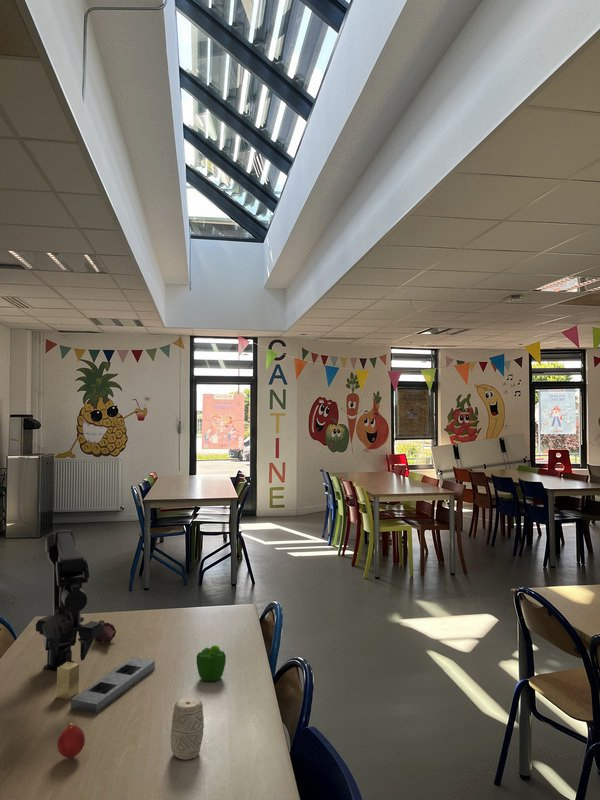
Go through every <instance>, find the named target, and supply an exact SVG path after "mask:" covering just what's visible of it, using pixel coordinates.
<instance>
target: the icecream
mask: <svg viewBox="0 0 600 800" xmlns="http://www.w3.org/2000/svg"><path fill="white" fill-rule="evenodd" d="M98 622H101V623H102V624H103V626H104V632H103V633H101V634H100V635H98V636H97V637H95V639H94V640H95V642H96V643H98V644H101V645H104V644H103V643H105V644H108V643H107V642H109V643H111V642H112V641H113V639H114V638H115V637H116V634H117V630H116V628H115V626H114V625H113V624H112V623H110V622H105V620H103V619H101V620H99V621H98Z"/></svg>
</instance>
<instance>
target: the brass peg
mask: <svg viewBox="0 0 600 800" xmlns="http://www.w3.org/2000/svg"><path fill="white" fill-rule="evenodd" d="M79 679H80V663H76V662H74V663H72V662H66V663H64V664H63V665H61V666H59V667H58V668H57V671H56V698H61V699H66V700H71V699H72V698H73V697H75V696H76V695H78V694H79V690H80V689H79V688H80V687H79V685H80V683H79V682H80V680H79Z"/></svg>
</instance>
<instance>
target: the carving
mask: <svg viewBox="0 0 600 800" xmlns="http://www.w3.org/2000/svg"><path fill="white" fill-rule="evenodd" d="M171 717H172V718H171V729H170V748H171V752H172V754H173V755H174V757H176V758H178V759H180V760H185V761H186V760H193V759H195V758H197V757H198V756H199V754H200V752H201V745H202V742H203V736H204V729H205V725H204V724H205V720H204V719H205V718H204V704H203V702H202V700H201V699H200V698H198V697H196V696H183V697H180V698H179V699H177V701H175V704H174V706H173V713H172V716H171ZM196 756H197V757H196ZM192 758H193V759H192Z"/></svg>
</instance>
